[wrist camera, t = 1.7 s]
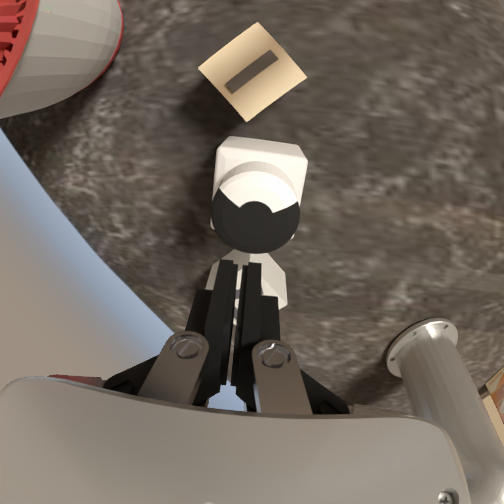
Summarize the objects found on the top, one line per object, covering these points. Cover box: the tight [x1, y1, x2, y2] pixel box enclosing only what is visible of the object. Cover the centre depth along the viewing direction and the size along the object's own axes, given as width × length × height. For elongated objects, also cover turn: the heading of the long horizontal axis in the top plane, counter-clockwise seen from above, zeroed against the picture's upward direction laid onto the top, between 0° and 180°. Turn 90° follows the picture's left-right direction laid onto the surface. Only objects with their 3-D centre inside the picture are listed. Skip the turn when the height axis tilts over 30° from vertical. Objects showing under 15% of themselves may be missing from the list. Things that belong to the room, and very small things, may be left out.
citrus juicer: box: [0, 0, 124, 119], centre depth 14 cm, size 16×17×20 cm
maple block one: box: [198, 22, 307, 122], centre depth 23 cm, size 6×6×6 cm
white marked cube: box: [205, 249, 287, 325], centre depth 34 cm, size 6×6×6 cm
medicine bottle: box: [210, 136, 308, 254], centre depth 26 cm, size 7×7×12 cm
